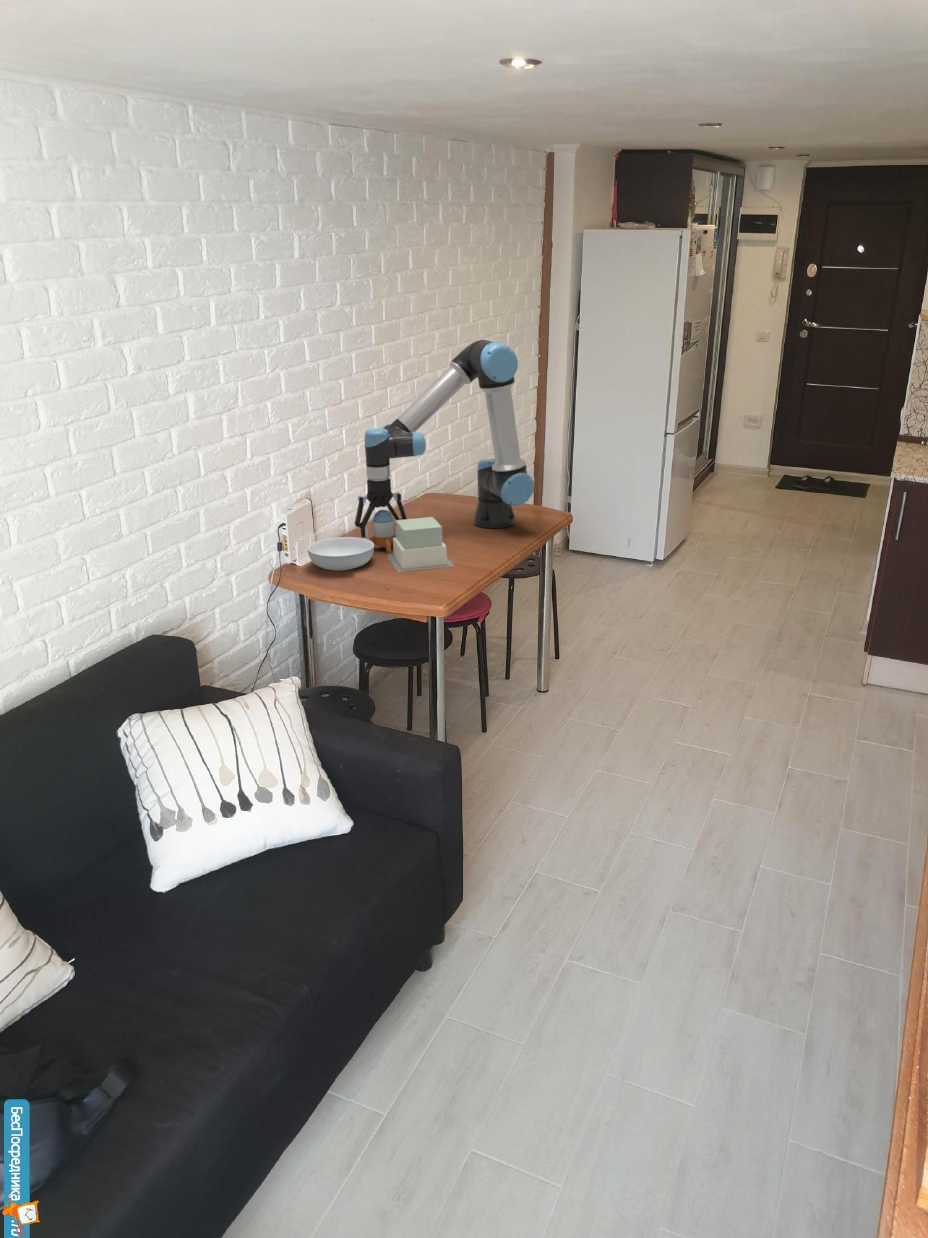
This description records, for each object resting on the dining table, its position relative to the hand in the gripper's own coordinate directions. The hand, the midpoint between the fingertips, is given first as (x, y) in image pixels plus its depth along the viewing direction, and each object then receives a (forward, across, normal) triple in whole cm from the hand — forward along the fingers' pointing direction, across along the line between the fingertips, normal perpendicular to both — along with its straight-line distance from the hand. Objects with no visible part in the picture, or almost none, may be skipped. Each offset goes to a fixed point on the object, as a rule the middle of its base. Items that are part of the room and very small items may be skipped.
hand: (382, 545), depth 312 cm
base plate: (+2, -9, +16) cm, 18 cm away
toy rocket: (+2, 0, 0) cm, 2 cm away
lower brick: (+1, -9, +16) cm, 18 cm away
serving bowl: (+2, +15, +11) cm, 19 cm away
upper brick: (-5, -9, +16) cm, 19 cm away
